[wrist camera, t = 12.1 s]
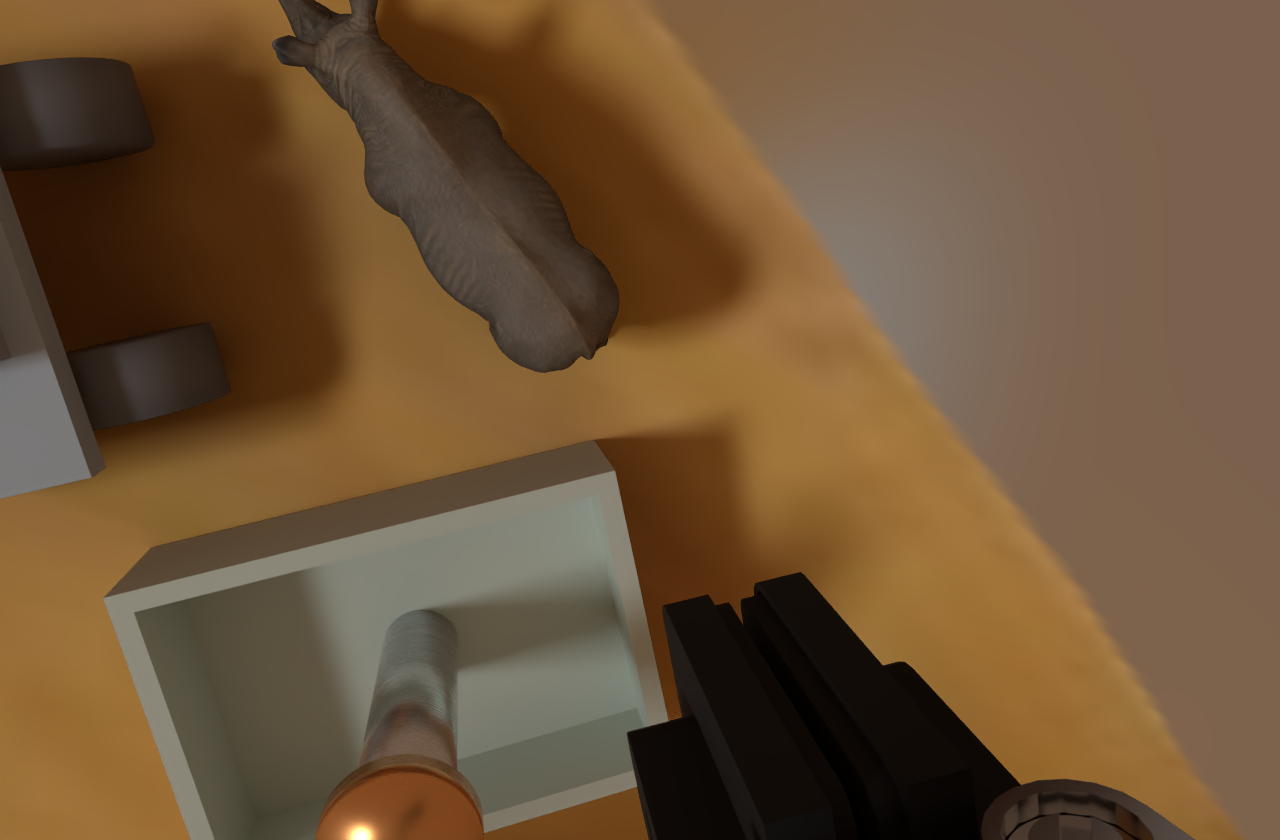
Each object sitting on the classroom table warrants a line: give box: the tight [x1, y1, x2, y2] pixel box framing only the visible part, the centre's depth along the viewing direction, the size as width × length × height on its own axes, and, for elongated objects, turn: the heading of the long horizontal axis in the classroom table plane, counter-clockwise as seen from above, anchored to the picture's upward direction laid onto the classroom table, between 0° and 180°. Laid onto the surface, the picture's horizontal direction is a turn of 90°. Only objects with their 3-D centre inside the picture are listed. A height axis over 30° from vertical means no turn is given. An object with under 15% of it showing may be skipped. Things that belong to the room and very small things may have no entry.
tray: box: [103, 440, 668, 840], centre depth 29 cm, size 10×14×4 cm
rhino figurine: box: [272, 0, 619, 373], centre depth 26 cm, size 4×14×6 cm, turn 38°
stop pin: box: [315, 610, 484, 840], centre depth 25 cm, size 4×4×11 cm
